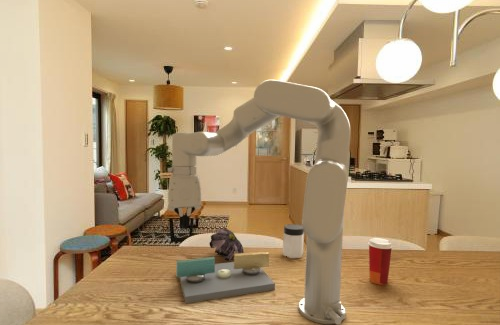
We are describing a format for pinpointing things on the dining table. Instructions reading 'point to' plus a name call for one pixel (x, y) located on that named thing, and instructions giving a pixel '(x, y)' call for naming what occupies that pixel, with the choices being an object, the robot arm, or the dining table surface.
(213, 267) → the knob
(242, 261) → the knob
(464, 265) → the dining table surface
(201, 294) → the board
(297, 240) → the jar
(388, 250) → the paper cup
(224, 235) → the decorative flower
